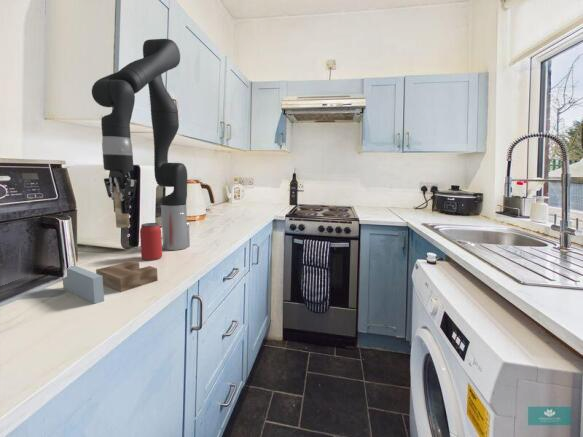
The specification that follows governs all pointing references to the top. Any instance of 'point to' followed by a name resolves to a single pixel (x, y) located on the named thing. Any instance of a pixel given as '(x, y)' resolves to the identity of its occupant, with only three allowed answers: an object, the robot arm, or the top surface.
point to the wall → (84, 284)
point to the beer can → (151, 241)
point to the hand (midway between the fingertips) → (122, 212)
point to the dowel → (121, 219)
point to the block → (127, 275)
